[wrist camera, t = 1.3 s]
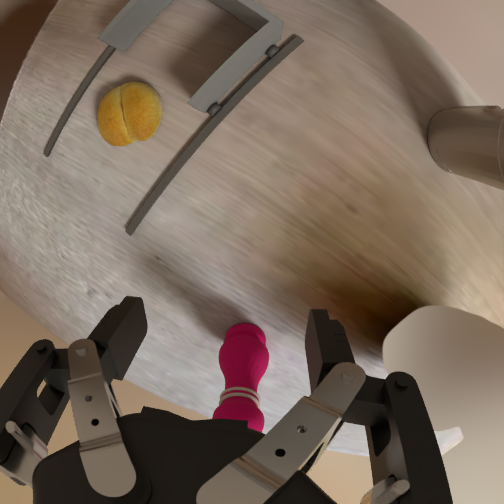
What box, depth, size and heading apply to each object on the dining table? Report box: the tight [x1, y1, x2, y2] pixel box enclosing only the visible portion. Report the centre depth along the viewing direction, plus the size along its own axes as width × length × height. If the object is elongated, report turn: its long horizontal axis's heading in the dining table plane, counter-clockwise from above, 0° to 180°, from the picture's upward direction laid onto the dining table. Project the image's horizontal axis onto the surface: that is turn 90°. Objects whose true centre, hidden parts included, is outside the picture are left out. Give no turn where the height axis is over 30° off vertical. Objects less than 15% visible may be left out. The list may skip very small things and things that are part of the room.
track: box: [43, 36, 304, 236], centre depth 29 cm, size 34×20×1 cm, turn 138°
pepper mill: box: [212, 323, 269, 432], centre depth 34 cm, size 7×7×20 cm
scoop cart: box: [97, 0, 284, 116], centre depth 24 cm, size 13×18×6 cm
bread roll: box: [97, 82, 163, 146], centre depth 29 cm, size 8×9×4 cm
